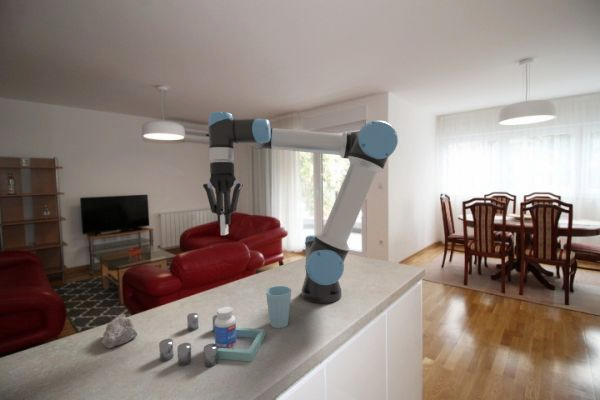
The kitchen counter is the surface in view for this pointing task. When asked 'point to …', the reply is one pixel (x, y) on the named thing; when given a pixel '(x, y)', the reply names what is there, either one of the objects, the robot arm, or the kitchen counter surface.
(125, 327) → the stone
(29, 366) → the kitchen counter surface
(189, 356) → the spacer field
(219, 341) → the pill bottle
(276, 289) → the cup
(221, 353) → the teal bay
